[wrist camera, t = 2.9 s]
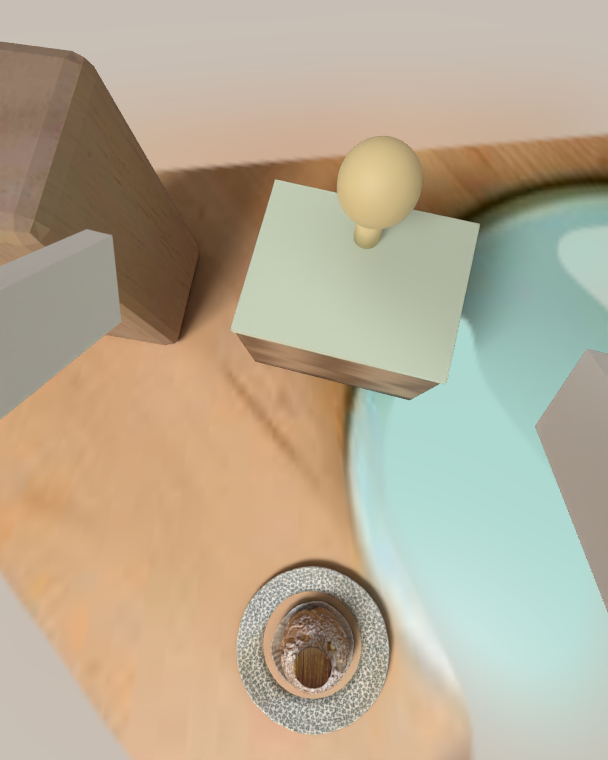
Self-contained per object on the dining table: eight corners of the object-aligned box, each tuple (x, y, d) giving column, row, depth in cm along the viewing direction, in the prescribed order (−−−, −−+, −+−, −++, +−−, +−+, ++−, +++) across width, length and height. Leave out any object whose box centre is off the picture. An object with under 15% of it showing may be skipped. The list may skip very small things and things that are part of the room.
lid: (475, 230, 29) (542, 137, 20) (443, 384, 27) (501, 353, 19) (276, 186, 30) (260, 80, 21) (232, 332, 28) (196, 280, 20)
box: (436, 281, 38) (472, 230, 29) (409, 400, 36) (439, 383, 27) (287, 247, 39) (279, 187, 30) (255, 361, 37) (235, 333, 28)
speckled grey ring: (417, 657, 33) (433, 690, 29) (298, 759, 32) (295, 810, 28) (325, 533, 35) (326, 544, 31) (209, 626, 34) (193, 653, 30)
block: (102, 231, 40) (-108, 16, 20) (204, 247, 39) (90, 42, 20) (74, 331, 38) (-183, 204, 19) (179, 349, 38) (29, 238, 18)
